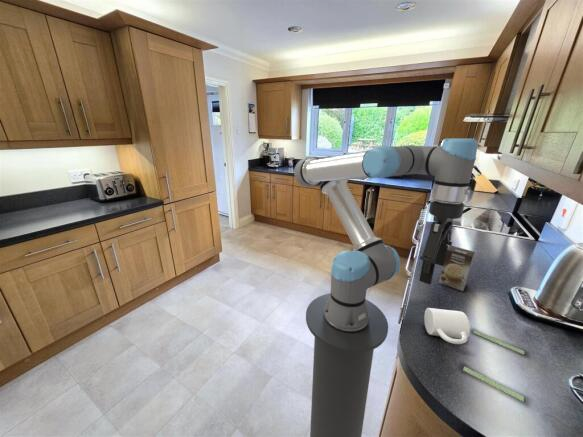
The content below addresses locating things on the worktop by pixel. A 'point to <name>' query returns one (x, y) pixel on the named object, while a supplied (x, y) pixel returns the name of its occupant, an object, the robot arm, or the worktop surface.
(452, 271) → the coffee box
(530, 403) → the worktop surface
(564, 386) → the worktop surface
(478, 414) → the worktop surface
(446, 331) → the mug
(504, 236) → the worktop surface
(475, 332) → the strips
